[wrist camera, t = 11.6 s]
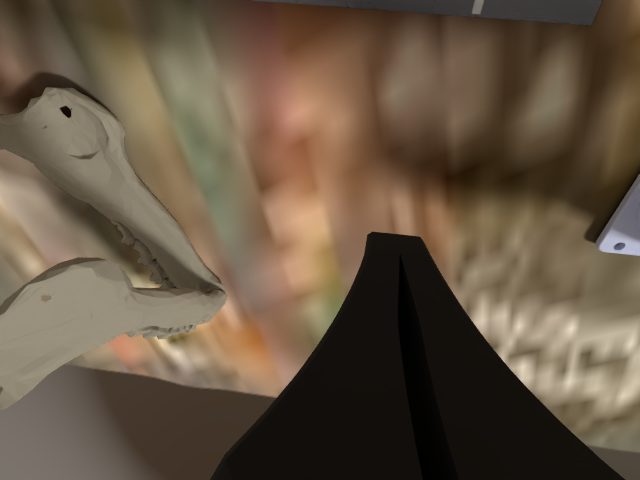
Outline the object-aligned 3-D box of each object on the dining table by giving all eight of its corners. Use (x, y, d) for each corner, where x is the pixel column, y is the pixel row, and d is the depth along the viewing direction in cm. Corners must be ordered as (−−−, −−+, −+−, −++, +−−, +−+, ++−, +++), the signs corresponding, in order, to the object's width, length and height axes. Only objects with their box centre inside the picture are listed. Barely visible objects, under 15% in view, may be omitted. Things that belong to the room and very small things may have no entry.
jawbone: (173, 239, 31) (-46, 115, 19) (253, 198, 30) (72, 34, 17) (188, 424, 24) (-144, 423, 12) (294, 385, 23) (39, 335, 10)
